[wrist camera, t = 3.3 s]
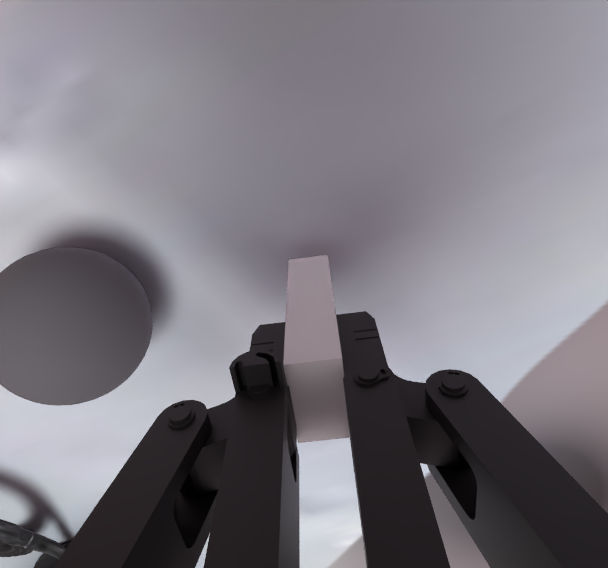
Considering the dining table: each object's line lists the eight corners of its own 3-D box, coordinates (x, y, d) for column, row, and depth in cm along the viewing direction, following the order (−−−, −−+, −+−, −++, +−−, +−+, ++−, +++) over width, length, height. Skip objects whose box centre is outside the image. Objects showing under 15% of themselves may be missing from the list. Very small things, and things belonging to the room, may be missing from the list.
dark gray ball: (146, 215, 19) (84, 282, 13) (184, 336, 21) (145, 431, 16) (7, 234, 19) (-108, 306, 14) (61, 351, 22) (-17, 449, 16)
